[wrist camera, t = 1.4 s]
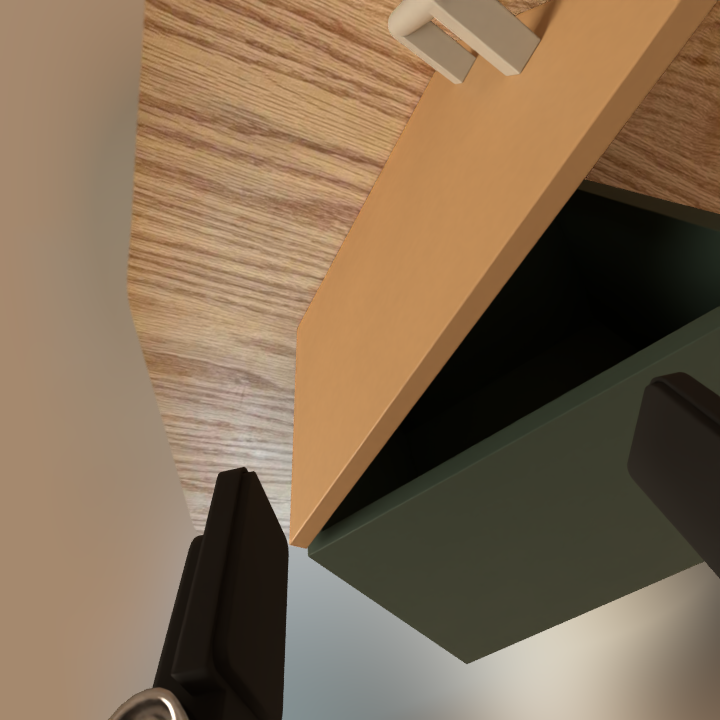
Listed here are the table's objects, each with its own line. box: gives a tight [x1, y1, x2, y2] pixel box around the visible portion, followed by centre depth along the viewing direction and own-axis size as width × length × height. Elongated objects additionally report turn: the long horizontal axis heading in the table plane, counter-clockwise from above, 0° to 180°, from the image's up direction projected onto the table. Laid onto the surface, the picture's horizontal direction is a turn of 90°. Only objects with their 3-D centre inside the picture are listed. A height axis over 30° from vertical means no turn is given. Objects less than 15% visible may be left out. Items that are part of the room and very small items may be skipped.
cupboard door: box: [289, 0, 718, 548], centre depth 25 cm, size 6×26×24 cm, turn 150°
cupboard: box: [308, 179, 720, 664], centre depth 33 cm, size 18×26×24 cm
